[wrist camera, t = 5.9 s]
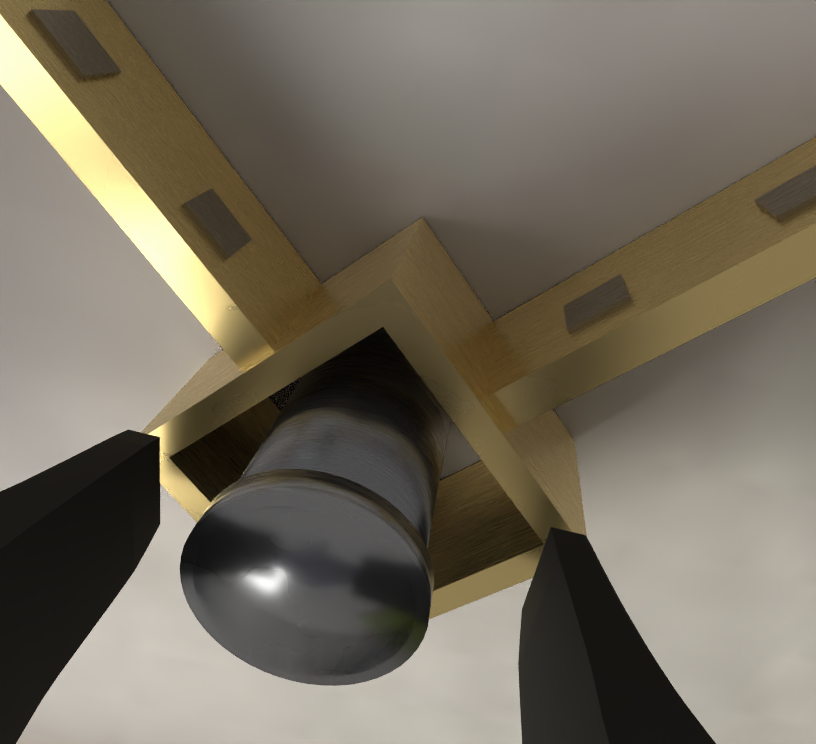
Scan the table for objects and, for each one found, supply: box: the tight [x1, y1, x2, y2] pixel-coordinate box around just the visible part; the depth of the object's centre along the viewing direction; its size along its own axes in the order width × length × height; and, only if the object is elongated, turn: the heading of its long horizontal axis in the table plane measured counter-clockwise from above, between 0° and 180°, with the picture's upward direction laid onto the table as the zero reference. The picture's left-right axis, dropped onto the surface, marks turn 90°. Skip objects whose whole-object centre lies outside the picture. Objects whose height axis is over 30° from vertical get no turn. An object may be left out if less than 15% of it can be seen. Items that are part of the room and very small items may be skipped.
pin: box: [180, 327, 450, 685], centre depth 13 cm, size 4×4×7 cm
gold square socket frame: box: [0, 0, 816, 619], centre depth 12 cm, size 14×14×4 cm
